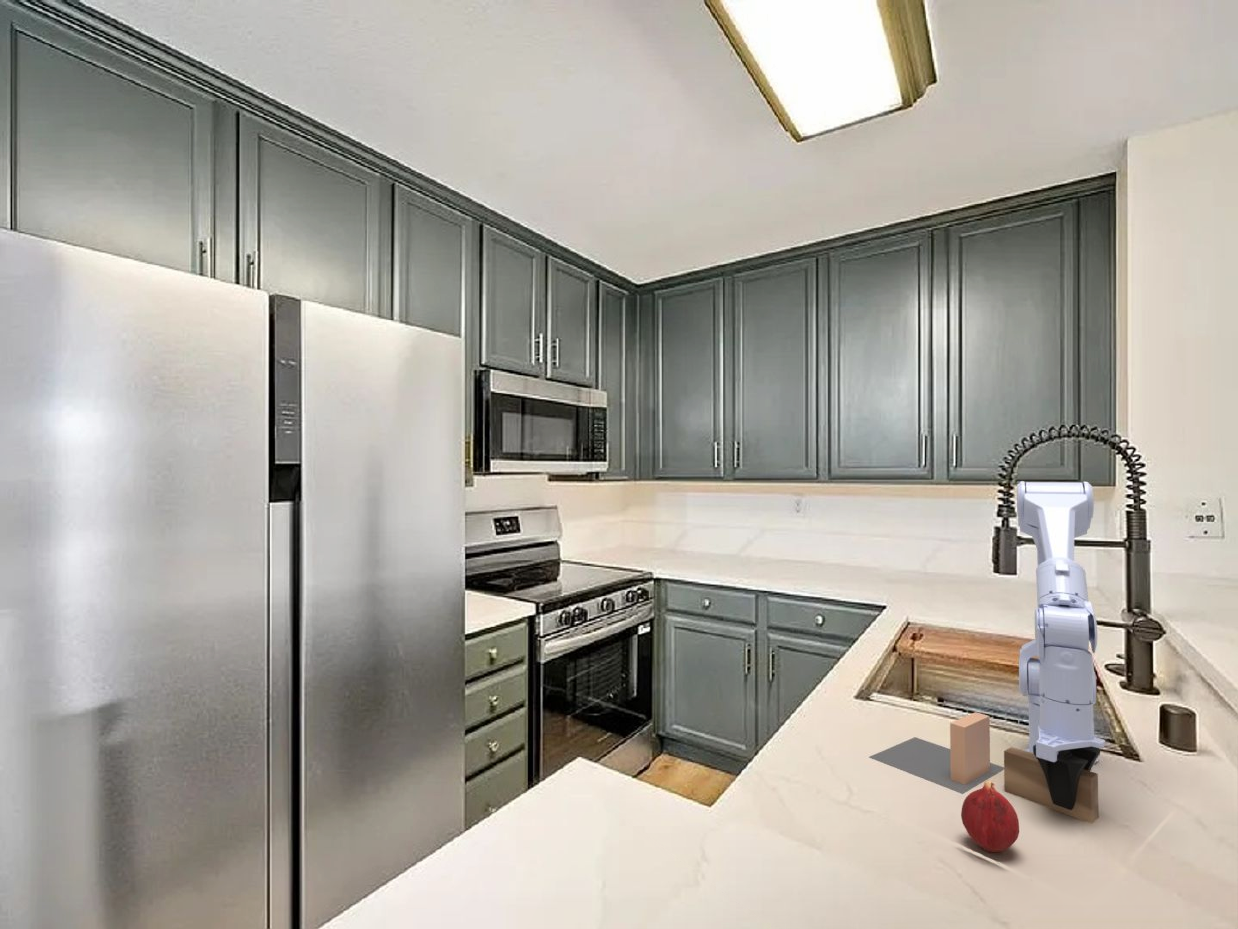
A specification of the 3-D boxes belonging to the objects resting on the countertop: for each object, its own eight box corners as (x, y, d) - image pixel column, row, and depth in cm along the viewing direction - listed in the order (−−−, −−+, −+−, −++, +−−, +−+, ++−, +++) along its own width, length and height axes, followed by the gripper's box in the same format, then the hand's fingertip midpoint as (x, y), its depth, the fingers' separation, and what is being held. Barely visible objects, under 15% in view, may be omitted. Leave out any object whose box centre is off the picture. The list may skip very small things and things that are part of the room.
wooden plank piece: (1012, 790, 86) (1011, 746, 87) (1098, 821, 78) (1097, 773, 79) (1004, 795, 85) (1004, 751, 85) (1091, 827, 77) (1091, 778, 77)
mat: (914, 740, 103) (914, 737, 103) (1006, 771, 92) (1006, 768, 92) (868, 760, 95) (868, 757, 95) (962, 797, 84) (962, 793, 84)
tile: (975, 765, 93) (975, 712, 93) (990, 770, 91) (989, 716, 92) (950, 779, 88) (950, 723, 88) (965, 785, 86) (964, 727, 87)
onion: (1029, 871, 67) (1028, 797, 68) (972, 863, 69) (971, 791, 69) (1006, 842, 73) (1006, 773, 73) (954, 835, 74) (954, 768, 75)
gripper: (1082, 718, 73) (1084, 834, 72) (1121, 696, 82) (1122, 800, 81) (1017, 701, 79) (1018, 809, 78) (1059, 682, 87) (1060, 779, 87)
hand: (1067, 803), depth 80 cm, fingers closed on wooden plank piece, 2 cm apart
